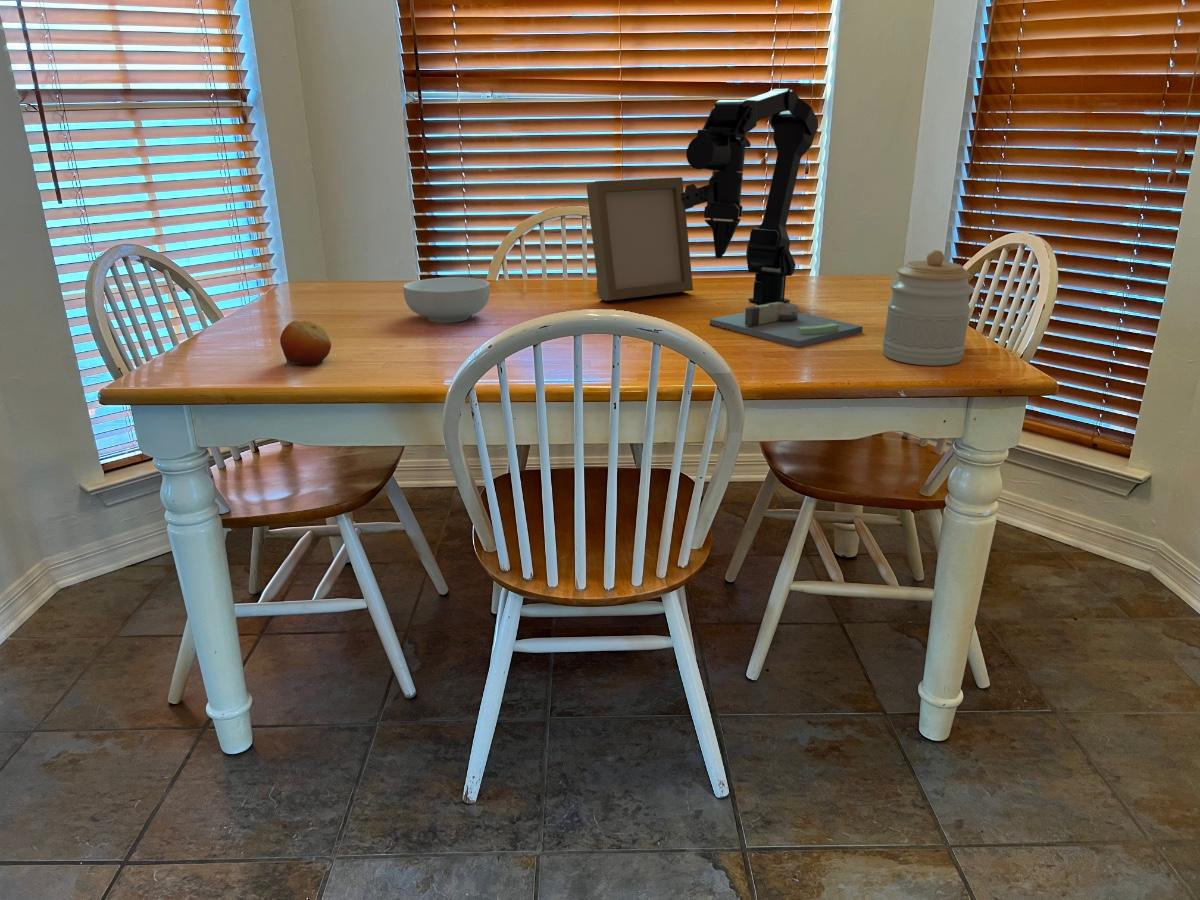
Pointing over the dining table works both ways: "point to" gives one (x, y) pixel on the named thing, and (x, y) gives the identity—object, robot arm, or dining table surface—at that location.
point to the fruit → (304, 343)
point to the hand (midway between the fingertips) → (720, 256)
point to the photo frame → (639, 237)
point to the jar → (928, 312)
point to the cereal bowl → (447, 298)
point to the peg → (771, 313)
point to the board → (791, 329)
